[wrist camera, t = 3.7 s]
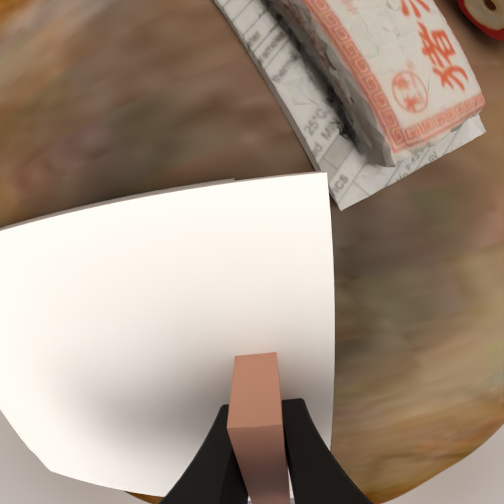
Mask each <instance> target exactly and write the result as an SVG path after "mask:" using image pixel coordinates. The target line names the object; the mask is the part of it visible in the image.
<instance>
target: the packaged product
mask: <svg viewBox="0 0 504 504" xmlns="http://www.w3.org/2000/svg"><path fill="white" fill-rule="evenodd" d="M213 1H214V2H215V4H216V5H217V7H218V8H219V9H220V11H221V12H222V13H223V15H224V16H225V18H226V19H227V21H228V22H229V24H230V26H231V27H232V29H233V30H234V32H235V33H236V35H237V36H238V38H239V39H240V41H241V43H242V44H243V46H244V48H245V49H246V51H247V53H248V54H249V56H250V57H251V59H252V61H253V62H254V64H255V65H256V67H257V69H258V70H259V72H260V74H261V75H262V77H263V78H264V80H265V82H266V83H267V85H268V87H269V88H270V90H271V92H272V93H273V95H274V97H275V99H276V100H277V102H278V104H279V105H280V107H281V109H282V110H283V112H284V114H285V116H286V117H287V119H288V121H289V123H290V124H291V126H292V128H293V130H294V132H295V133H296V135H297V137H298V139H299V141H300V142H301V144H302V146H303V148H304V150H305V152H306V154H307V155H308V157H309V159H310V161H311V163H312V165H313V167H314V169H315V171H316V172H318V171H323V172H327V179H328V190H329V193H330V195H331V196H332V198H333V199H334V201H335V203H336V204H337V206H338V207H339V209H340V211H342V210H343V209H345V208H347V207H349V206H351V205H353V204H355V203H357V202H359V201H361V200H363V199H365V198H367V197H369V196H371V195H372V194H374V193H375V192H377V191H379V190H380V189H382V188H384V187H386V186H389V185H391V184H393V183H394V182H396V181H398V180H400V179H402V178H403V177H405V176H407V175H409V174H411V173H412V172H414V171H416V170H418V169H419V168H421V167H423V166H425V165H427V164H428V163H430V162H432V161H434V160H436V159H438V158H439V157H441V156H443V155H445V154H447V153H449V152H451V151H453V150H455V149H457V148H459V147H460V146H462V145H464V144H466V143H467V142H469V141H471V140H473V139H474V138H476V137H478V136H480V135H482V134H484V133H486V131H485V128H484V126H483V124H482V122H481V120H480V117H479V115H478V114H479V113H480V111H481V110H482V108H483V107H484V106H485V105H486V103H485V100H484V97H483V94H482V92H481V89H480V86H479V84H478V82H477V79H476V77H475V75H474V72H473V70H472V68H471V66H470V64H469V62H468V60H467V58H466V56H465V54H464V52H463V50H462V48H461V46H460V44H459V42H458V40H457V38H456V37H455V35H454V33H453V31H452V29H451V28H450V26H449V24H448V22H447V21H446V19H445V18H444V16H443V15H442V13H441V12H440V10H439V8H438V7H437V5H436V4H435V2H434V1H433V0H213Z"/></svg>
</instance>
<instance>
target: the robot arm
mask: <svg viewBox="0 0 504 504" xmlns="http://www.w3.org/2000/svg"><path fill="white" fill-rule="evenodd" d="M281 403H282V418H283V428H284V437H285V446H286V454H287V463H288V469H289V475H290V480H291V485H292V491H293V496H294V498H290V501H291V504H373V503H372V502H371V501H370V500H369V499H368V498H367V497H366V496H365V495H364V494H363V493H362V492H361V491H360V490H359V488H358V487H357V486H356V485H355V484H354V483H353V482H352V480H351V479H350V478H349V477H348V475H347V474H346V473H345V472H344V470H343V469H342V468H341V466H340V465H339V464H338V462H337V461H336V459H335V458H334V456H333V455H332V454H331V452H330V451H329V449H328V447H327V446H326V444H325V442H324V441H323V439H322V438H321V436H320V434H319V432H318V431H317V429H316V427H315V425H314V423H313V421H312V419H311V416H310V414H309V412H308V409H307V406H306V403H305V400H304V399H302V398H296V399H287V400H281ZM228 413H229V404H223V405H222V406H221V407H220V410H219V412H218V414H217V416H216V419H215V421H214V423H213V425H212V427H211V429H210V431H209V433H208V435H207V436H206V438H205V440H204V442H203V443H202V445H201V447H200V449H199V450H198V452H197V454H196V455H195V457H194V458H193V460H192V461H191V463H190V464H189V466H188V467H187V469H186V470H185V472H184V473H183V474H182V476H181V477H180V479H179V480H178V481H177V482H176V484H175V485H174V486H173V488H172V489H171V490H170V491H169V492H168V493H167V495H166V496H165V497H164V498H163V499H162V500H161V501H160V502H159V503H158V504H252V503H251V501H248V497H249V494H248V491H247V488H246V486H245V483H244V480H243V477H242V474H241V471H240V468H239V465H238V462H237V459H236V456H235V453H234V450H233V446H232V443H231V440H230V437H229V434H228V430H227V422H228Z"/></svg>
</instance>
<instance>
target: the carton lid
mask: <svg viewBox="0 0 504 504" xmlns="http://www.w3.org/2000/svg"><path fill="white" fill-rule="evenodd" d="M334 359H335V305H334V270H333V248H332V230H331V215H330V202H329V190H328V179H327V172H323V171H318V172H307V173H296V174H287V175H278V176H269V177H260V178H252V179H244V180H237V181H230V182H222V183H215V184H209V185H202V186H196V187H189V188H183V189H177V190H172V191H166V192H160V193H155V194H149V195H144V196H139V197H133V198H128V199H123V200H118V201H114V202H109V203H104V204H99V205H95V206H90V207H86V208H82V209H77V210H73V211H69V212H65V213H60V214H56V215H52V216H48V217H44V218H41V219H37V220H33V221H29V222H26V223H22V224H18V225H15V226H11V227H8V228H4V229H1V230H0V407H1V408H2V410H3V411H4V413H5V414H6V416H7V417H8V419H9V420H10V422H11V423H12V424H13V426H14V427H15V429H16V430H17V431H18V433H19V434H20V435H21V437H22V438H23V439H24V440H25V442H26V443H27V444H28V446H29V447H30V448H31V449H32V451H33V452H34V453H35V454H36V455H37V457H38V458H39V459H40V460H41V461H42V462H43V464H44V465H45V466H46V467H47V468H48V469H49V470H50V471H52V472H55V473H59V474H62V475H65V476H68V477H71V478H75V479H79V480H82V481H86V482H90V483H93V484H97V485H101V486H106V487H110V488H114V489H119V490H124V491H129V492H135V493H141V494H147V495H154V496H162V497H165V496H166V495H167V493H168V492H169V491H170V490H171V489H172V488H173V486H174V485H175V484H176V482H177V481H178V480H179V479H180V477H181V476H182V474H183V473H184V472H185V470H186V469H187V467H188V466H189V464H190V463H191V461H192V460H193V458H194V457H195V455H196V454H197V452H198V450H199V449H200V447H201V445H202V443H203V442H204V440H205V438H206V436H207V435H208V433H209V431H210V429H211V427H212V425H213V423H214V421H215V419H216V416H217V414H218V412H219V410H220V407H221V406H222V405H223V404H229V413H228V422H227V430H228V434H229V437H230V440H231V443H232V446H233V450H234V453H235V456H236V459H237V462H238V465H239V468H240V471H241V474H242V477H243V480H244V483H245V486H246V488H247V491H248V494H249V497H248V501H251V503H252V504H291V501H290V498H294V496H293V491H292V485H291V480H290V475H289V469H288V463H287V454H286V446H285V437H284V428H283V418H282V403H281V400H287V399H296V398H302V399H304V400H305V403H306V406H307V409H308V412H309V414H310V416H311V419H312V421H313V423H314V425H315V427H316V429H317V431H318V432H319V434H320V436H321V438H322V439H323V441H324V442H325V444H326V446H327V447H328V449H329V451H330V445H331V431H332V415H333V394H334Z"/></svg>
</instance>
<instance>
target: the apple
mask: <svg viewBox="0 0 504 504" xmlns="http://www.w3.org/2000/svg"><path fill="white" fill-rule="evenodd" d="M457 3H458V6H459V8H460V10H461V11H462V12H463V14H464V15H465V16H466V17H467V18H468V19H469V20H470V21H471V22H472V23H473V24H474V25H475V26H477V27H478V28H479V29H480V30H481V31H482V32H483V33H484V34H486V35H487V36H489V37H491V38H493V39H496V40H500V41H504V0H457Z"/></svg>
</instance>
